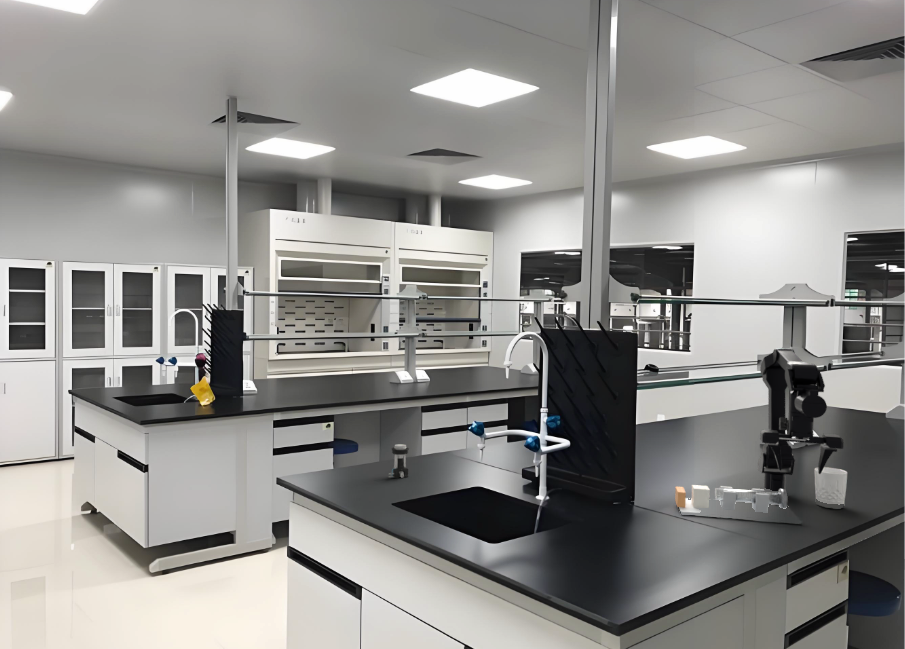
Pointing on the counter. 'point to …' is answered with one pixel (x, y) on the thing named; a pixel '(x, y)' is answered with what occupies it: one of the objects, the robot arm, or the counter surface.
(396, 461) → the push button
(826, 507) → the counter surface
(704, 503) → the block
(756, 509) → the bearing rail
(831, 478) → the white cup
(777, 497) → the shaft
